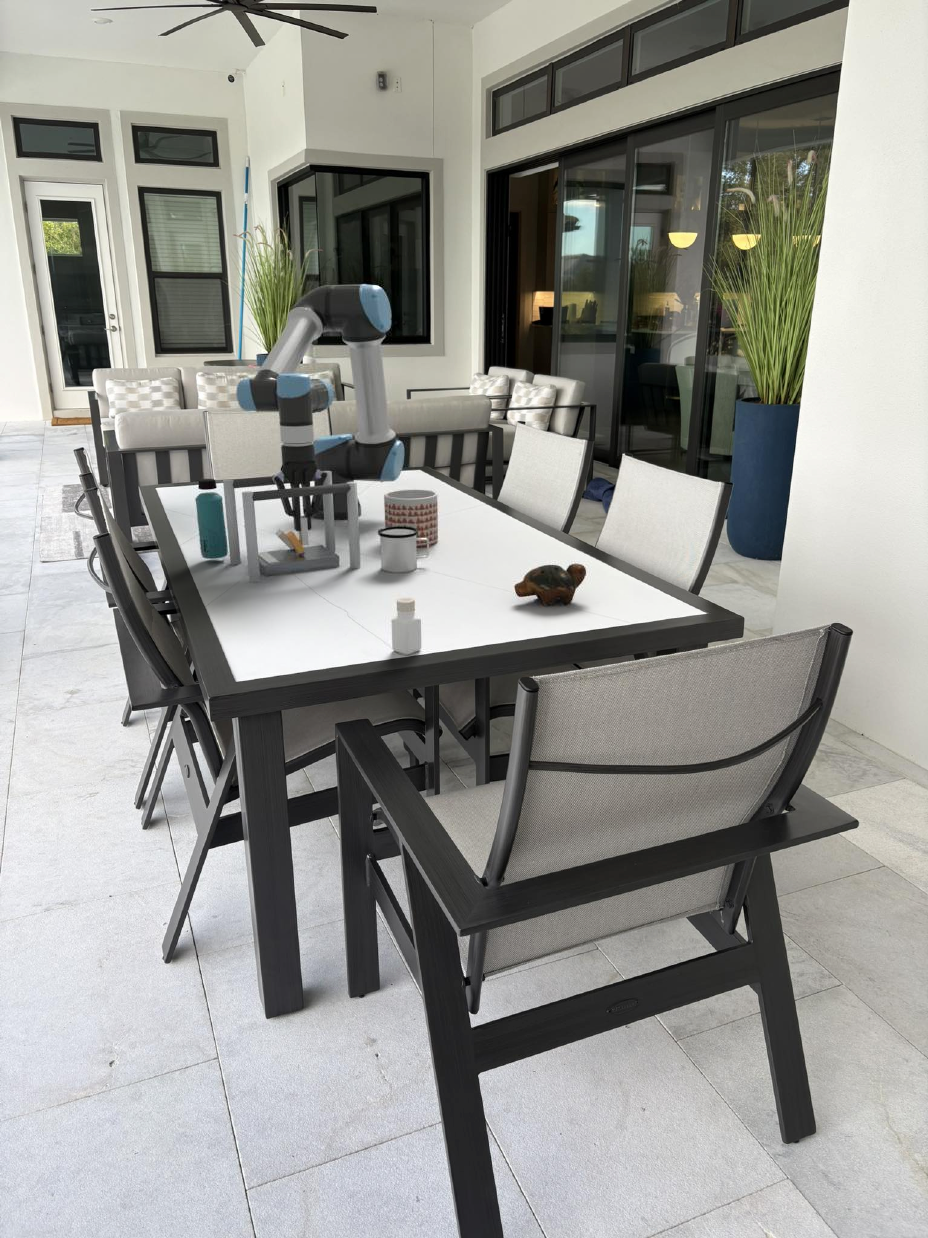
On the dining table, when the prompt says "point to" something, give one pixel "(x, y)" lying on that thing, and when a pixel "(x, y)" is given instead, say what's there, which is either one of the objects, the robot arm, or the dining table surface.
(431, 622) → the dining table surface
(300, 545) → the amber brick
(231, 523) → the cord rack
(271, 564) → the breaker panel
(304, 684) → the dining table surface
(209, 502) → the beverage bottle
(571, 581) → the decorative turtle
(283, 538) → the off-white eraser brick
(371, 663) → the dining table surface
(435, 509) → the planter
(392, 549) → the mug
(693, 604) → the dining table surface
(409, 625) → the small white bottle
